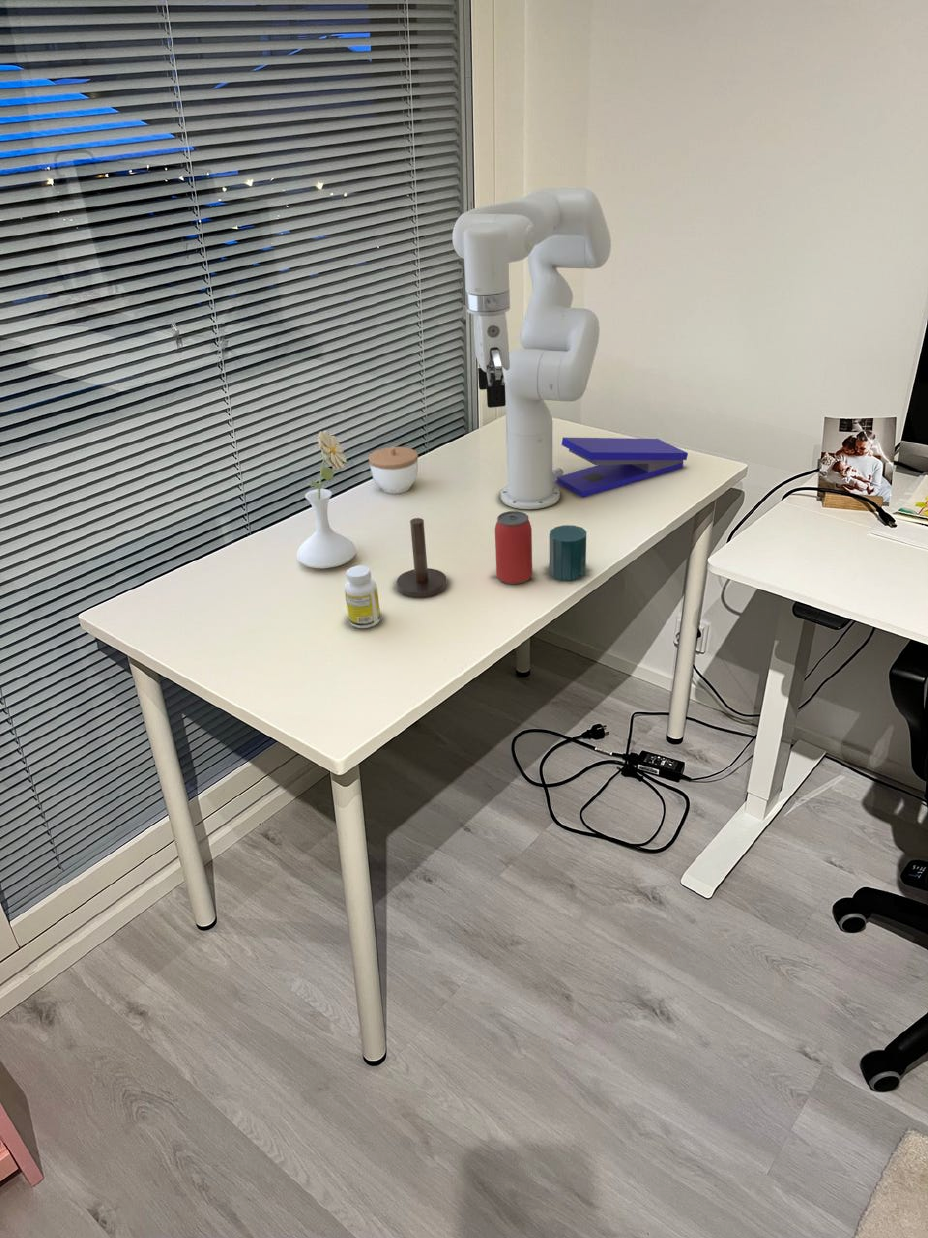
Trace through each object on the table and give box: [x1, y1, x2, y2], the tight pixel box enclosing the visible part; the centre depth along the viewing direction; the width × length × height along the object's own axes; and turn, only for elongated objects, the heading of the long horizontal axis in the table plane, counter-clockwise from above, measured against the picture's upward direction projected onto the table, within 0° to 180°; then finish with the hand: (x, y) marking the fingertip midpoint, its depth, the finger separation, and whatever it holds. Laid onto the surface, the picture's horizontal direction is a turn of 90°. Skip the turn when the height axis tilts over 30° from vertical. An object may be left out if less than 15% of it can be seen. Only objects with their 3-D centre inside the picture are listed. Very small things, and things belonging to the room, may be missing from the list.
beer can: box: [494, 510, 533, 585], centre depth 172 cm, size 7×7×12 cm
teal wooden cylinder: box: [549, 524, 587, 582], centre depth 174 cm, size 6×6×8 cm
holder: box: [396, 517, 448, 599], centre depth 171 cm, size 9×9×13 cm
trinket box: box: [368, 446, 419, 495], centre depth 210 cm, size 11×11×9 cm
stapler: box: [556, 437, 689, 498], centre depth 210 cm, size 12×28×10 cm, turn 119°
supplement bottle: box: [344, 565, 381, 629], centre depth 162 cm, size 5×5×10 cm
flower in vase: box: [296, 429, 357, 569], centre depth 179 cm, size 13×11×25 cm
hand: (492, 397), depth 173 cm, fingers open, 9 cm apart
